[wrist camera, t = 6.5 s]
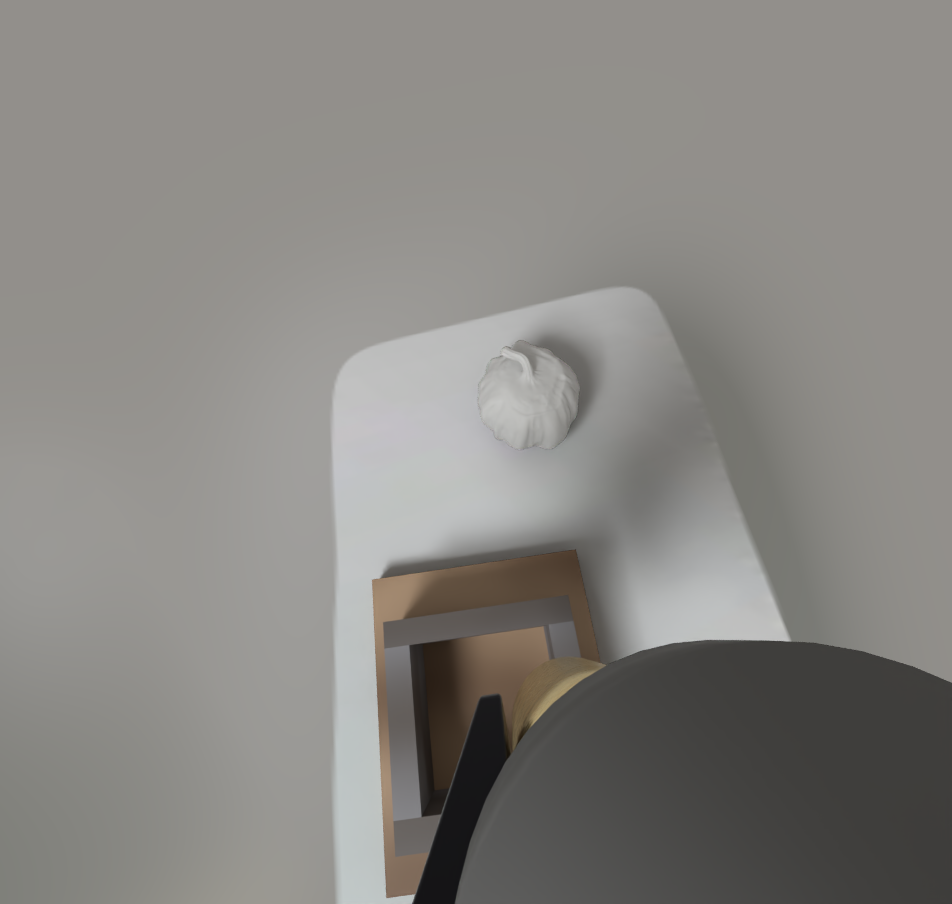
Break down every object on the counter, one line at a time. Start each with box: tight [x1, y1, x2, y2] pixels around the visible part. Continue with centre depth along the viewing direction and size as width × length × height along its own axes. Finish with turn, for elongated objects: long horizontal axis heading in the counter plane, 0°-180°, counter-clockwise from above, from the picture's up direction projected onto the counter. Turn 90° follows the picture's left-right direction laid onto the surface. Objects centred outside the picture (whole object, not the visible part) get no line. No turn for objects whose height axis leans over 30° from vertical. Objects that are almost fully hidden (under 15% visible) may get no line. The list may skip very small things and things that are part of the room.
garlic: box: [478, 340, 580, 450], centre depth 24 cm, size 6×5×5 cm
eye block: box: [372, 550, 601, 898], centre depth 19 cm, size 12×10×4 cm
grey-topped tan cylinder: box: [455, 640, 952, 904], centre depth 8 cm, size 5×5×12 cm
